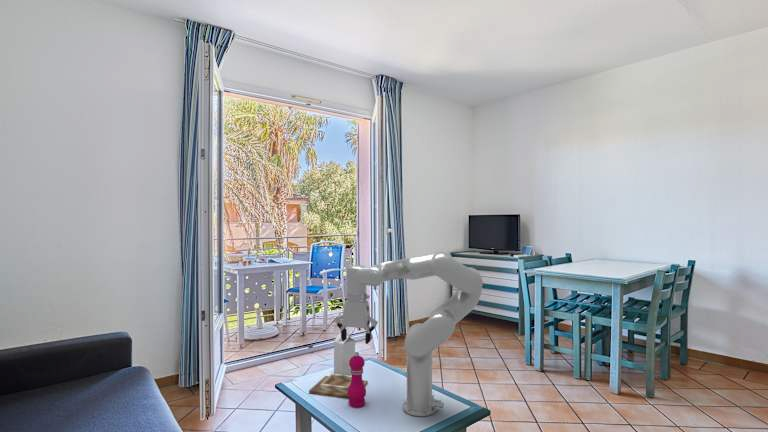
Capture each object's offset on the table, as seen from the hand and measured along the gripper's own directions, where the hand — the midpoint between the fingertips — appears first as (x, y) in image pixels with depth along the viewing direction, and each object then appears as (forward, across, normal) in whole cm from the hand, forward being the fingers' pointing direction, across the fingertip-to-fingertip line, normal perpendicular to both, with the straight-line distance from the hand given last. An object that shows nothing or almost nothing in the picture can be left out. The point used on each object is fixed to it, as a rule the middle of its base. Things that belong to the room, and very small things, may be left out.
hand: (355, 341), depth 152 cm
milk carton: (+24, +15, -27) cm, 40 cm away
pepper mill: (+24, -1, 0) cm, 24 cm away
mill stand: (+24, +11, -11) cm, 29 cm away
